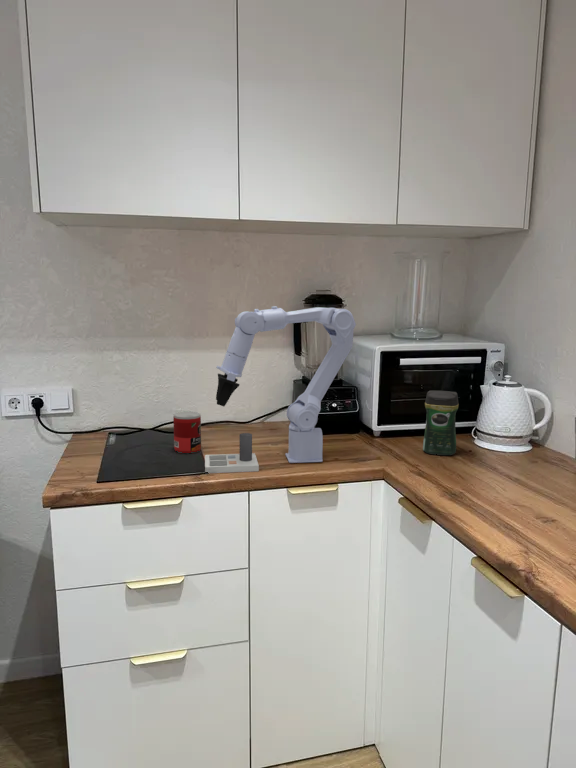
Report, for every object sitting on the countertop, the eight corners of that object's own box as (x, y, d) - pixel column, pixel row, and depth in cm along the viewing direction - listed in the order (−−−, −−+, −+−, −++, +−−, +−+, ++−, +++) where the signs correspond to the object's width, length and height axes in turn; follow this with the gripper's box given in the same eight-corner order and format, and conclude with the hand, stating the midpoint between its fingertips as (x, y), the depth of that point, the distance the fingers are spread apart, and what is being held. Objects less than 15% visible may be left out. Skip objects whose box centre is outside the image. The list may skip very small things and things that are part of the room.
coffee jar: (456, 450, 172) (460, 389, 169) (455, 457, 165) (459, 394, 162) (423, 447, 176) (427, 387, 172) (420, 454, 168) (424, 392, 165)
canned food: (195, 455, 165) (195, 417, 163) (169, 453, 166) (168, 416, 164) (204, 447, 172) (204, 412, 170) (179, 445, 174) (179, 410, 172)
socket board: (254, 458, 162) (254, 452, 162) (258, 471, 151) (258, 464, 151) (204, 460, 160) (204, 454, 159) (205, 473, 149) (205, 466, 149)
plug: (251, 457, 158) (251, 432, 156) (252, 461, 154) (252, 436, 153) (239, 457, 157) (239, 433, 156) (239, 461, 154) (239, 436, 153)
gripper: (221, 348, 158) (205, 394, 159) (223, 351, 144) (205, 402, 145) (245, 356, 160) (229, 402, 160) (250, 361, 145) (232, 411, 146)
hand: (219, 403), depth 153 cm, fingers open, 7 cm apart
